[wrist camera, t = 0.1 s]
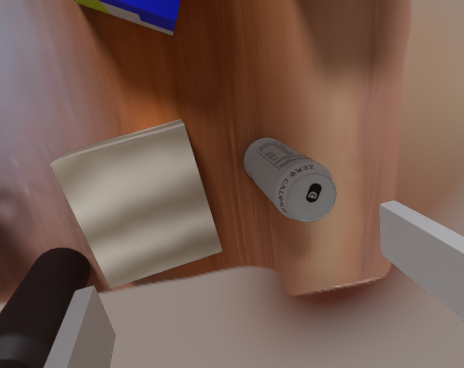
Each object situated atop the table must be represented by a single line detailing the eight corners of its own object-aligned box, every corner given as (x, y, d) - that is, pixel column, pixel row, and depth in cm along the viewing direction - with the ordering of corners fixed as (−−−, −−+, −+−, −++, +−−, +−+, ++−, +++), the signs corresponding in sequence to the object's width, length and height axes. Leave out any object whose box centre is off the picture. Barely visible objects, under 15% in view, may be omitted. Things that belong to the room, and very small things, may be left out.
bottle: (99, 279, 43) (52, 431, 25) (50, 297, 43) (-36, 467, 24) (77, 239, 41) (6, 374, 22) (24, 257, 40) (-94, 411, 22)
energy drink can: (235, 173, 42) (271, 220, 29) (250, 130, 41) (295, 158, 27) (275, 184, 44) (327, 233, 30) (290, 143, 43) (352, 175, 29)
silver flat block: (67, 151, 37) (50, 164, 32) (181, 118, 39) (184, 126, 33) (117, 261, 43) (110, 288, 37) (215, 229, 44) (222, 251, 39)
